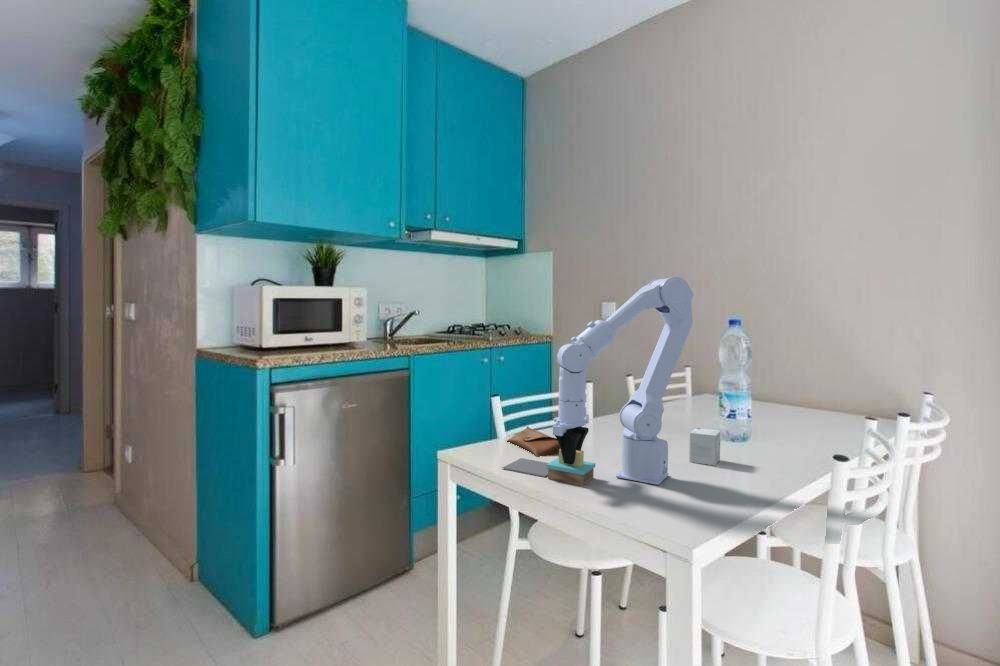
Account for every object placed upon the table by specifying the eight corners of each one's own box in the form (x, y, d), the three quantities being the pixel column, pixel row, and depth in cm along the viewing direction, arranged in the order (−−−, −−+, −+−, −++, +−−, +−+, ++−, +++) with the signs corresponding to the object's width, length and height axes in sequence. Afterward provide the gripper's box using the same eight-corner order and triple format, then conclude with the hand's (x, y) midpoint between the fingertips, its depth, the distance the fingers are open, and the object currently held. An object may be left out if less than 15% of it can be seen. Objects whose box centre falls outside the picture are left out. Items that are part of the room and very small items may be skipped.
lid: (595, 466, 116) (595, 449, 115) (583, 475, 110) (583, 456, 110) (559, 460, 120) (559, 443, 120) (546, 468, 115) (546, 450, 114)
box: (593, 477, 116) (593, 466, 116) (582, 485, 111) (582, 474, 110) (559, 471, 120) (560, 461, 120) (548, 478, 115) (548, 467, 115)
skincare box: (715, 466, 125) (716, 435, 124) (688, 462, 128) (689, 432, 127) (720, 460, 130) (721, 430, 129) (694, 456, 133) (695, 427, 133)
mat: (562, 466, 123) (562, 465, 123) (545, 477, 116) (545, 476, 116) (521, 459, 129) (521, 458, 129) (501, 468, 121) (501, 467, 121)
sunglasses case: (502, 440, 146) (513, 418, 148) (521, 450, 149) (531, 429, 151) (538, 457, 131) (549, 433, 132) (558, 468, 134) (569, 444, 135)
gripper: (568, 393, 123) (568, 451, 123) (539, 403, 110) (539, 467, 111) (597, 396, 119) (596, 456, 120) (571, 406, 107) (570, 473, 107)
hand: (571, 461), depth 115 cm, fingers closed on lid, 2 cm apart
